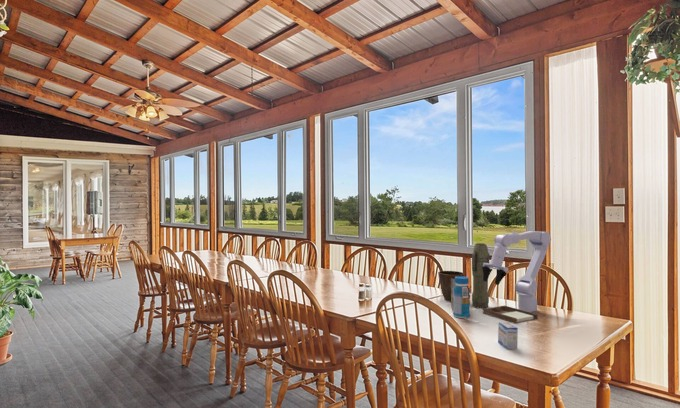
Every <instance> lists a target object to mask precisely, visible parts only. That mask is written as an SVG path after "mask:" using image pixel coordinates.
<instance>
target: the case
mask: <svg viewBox="0 0 680 408" xmlns="http://www.w3.org/2000/svg"><path fill="white" fill-rule="evenodd" d="M514 311H517V312H521V313H524V314H528V315H532V316H533V319H531V320H526V321H521V322H517V318H513V317H510V316H507V315H503V313H509V312H514ZM482 314H484V315H488V316H490V317H494V318H497V319H499V320H503V321H505V322H508V323H513V324H520V323H525V322H530V321H531V322H532V321H534V320H538V319H539V318H538V317H539V315H538V314H537V313H533V312H527V311H523V310H519V309H518V308H514V307H511V306H507V305H499V306H494V307H493V306H492V307H488V308H484V309H483V308H482Z"/></svg>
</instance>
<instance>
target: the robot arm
mask: <svg viewBox="0 0 680 408" xmlns="http://www.w3.org/2000/svg"><path fill="white" fill-rule="evenodd" d="M521 240H528V241H529V242H530V244H531V245H532V248H534V252H533V255H532V257H531V259H530V260H529V261H530V262H529V264H528V266H527V269H526V271H525V274H524V275H523V276H521V277H519V278H518V281H516V283H515V284H514V289H515V291H516V294H517V295H518V296H517V300H518V301H517V302H518V303H517V305H518V306H517V309H519V310H523V311H527V312H530V313H533V312H538V299H537V296H536V293H537V292H538V291H537V289H538V285H539V283H538V282H537V281H536V278H537V276H538V273H539V271H540V268H541V266H542V263H543V261H544V259H545V257H546V256H547V255H546V254H547V253H548V252H547V251H548V248H549V245H550V243H551V241H552V238H551V235H550V233H549V232H548V231H539V230H538V231H537V230H536V231H535V230H528V231H524V232H520V233H518V232H516V231H511V232H510V233H509V232H507V233H504V234H497V235H496V236H495V237H494V239H493V241H494V245H493V246H494V249H493V252H492V256H491V259H490V261H489V263H483V266H484V267H482V269H483V281H486V282H487V280H488V281H489V277H490V275H491V273H492V272H493V270H496V276H495V280H494V284H495V285H498V286H499V285H500V283H501V282H502V280H503V278H505V277H506V276H507V274H508V272H509V268H508V267H505V266H503V263H504V259H505V255H506V254H507V253H506V252H507V249H508V247H510V246H511V245H515V244H519V243H520V242H521Z"/></svg>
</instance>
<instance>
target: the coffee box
mask: <svg viewBox="0 0 680 408" xmlns="http://www.w3.org/2000/svg"><path fill="white" fill-rule="evenodd" d="M455 285H456V284H455V279H451V301H450V303H451V304H450V307H451V311H452V312H453V293H454V291H453V289H454V287H455Z"/></svg>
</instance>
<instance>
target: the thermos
mask: <svg viewBox="0 0 680 408" xmlns="http://www.w3.org/2000/svg"><path fill="white" fill-rule="evenodd" d="M488 250H489V249H488V246H487V244H486V243H479V242H477V243H474V247H473V252H472V253H471V271H472V272H471V273H472V294H471V303H472V304H471V306H472V308H475V309H482V310H483V309H486V308H489V302H490V295H489V290H488V289H489V279H488V280H487V282H486V281H483V269H482V267H484V266H483V263H490V252H489V251H488Z"/></svg>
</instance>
